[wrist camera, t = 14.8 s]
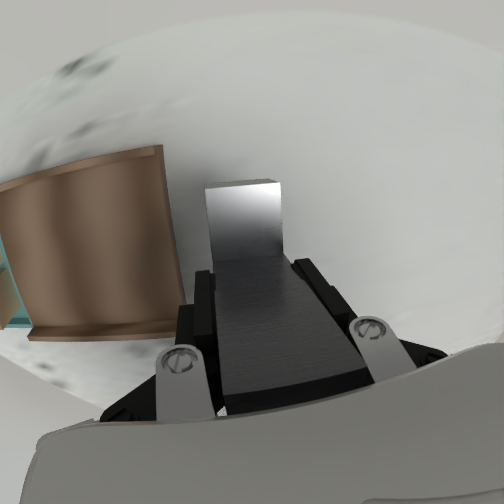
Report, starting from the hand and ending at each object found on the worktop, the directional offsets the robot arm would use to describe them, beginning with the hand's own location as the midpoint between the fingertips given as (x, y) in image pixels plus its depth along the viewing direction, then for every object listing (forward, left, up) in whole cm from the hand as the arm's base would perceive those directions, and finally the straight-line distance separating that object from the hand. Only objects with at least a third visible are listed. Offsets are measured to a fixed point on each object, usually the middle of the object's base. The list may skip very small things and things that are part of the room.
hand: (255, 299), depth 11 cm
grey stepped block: (0, 0, -4) cm, 4 cm away
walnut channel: (+12, 0, -10) cm, 16 cm away
